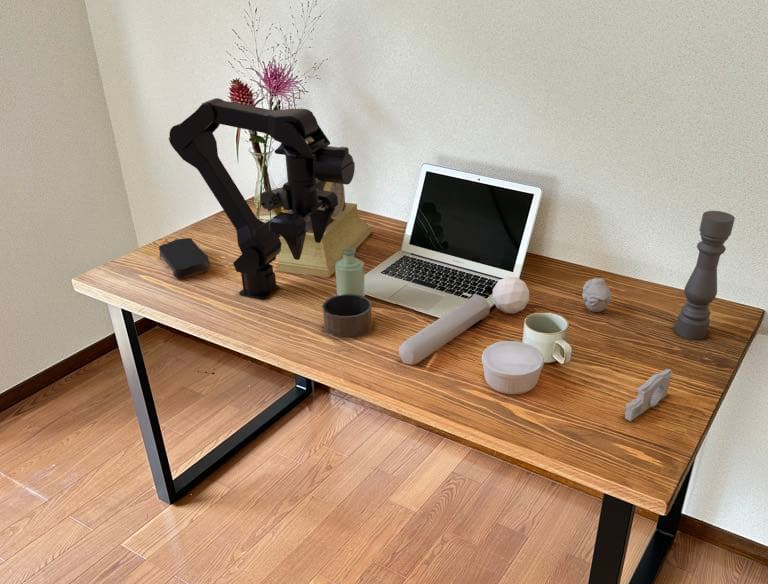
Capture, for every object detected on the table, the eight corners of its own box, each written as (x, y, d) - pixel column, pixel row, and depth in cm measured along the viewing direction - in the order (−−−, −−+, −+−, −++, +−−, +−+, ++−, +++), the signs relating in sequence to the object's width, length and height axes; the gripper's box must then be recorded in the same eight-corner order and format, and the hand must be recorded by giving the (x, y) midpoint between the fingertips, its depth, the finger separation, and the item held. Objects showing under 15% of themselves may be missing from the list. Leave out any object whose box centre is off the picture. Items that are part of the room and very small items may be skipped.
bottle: (332, 305, 156) (329, 254, 150) (344, 293, 161) (342, 243, 155) (358, 310, 155) (355, 259, 148) (369, 298, 160) (367, 247, 153)
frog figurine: (600, 301, 160) (605, 272, 156) (614, 316, 154) (619, 286, 151) (574, 303, 159) (578, 274, 155) (588, 319, 153) (592, 289, 149)
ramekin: (498, 404, 127) (500, 379, 124) (469, 371, 136) (471, 347, 133) (553, 390, 131) (556, 366, 128) (522, 359, 139) (524, 335, 137)
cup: (315, 333, 146) (314, 312, 144) (337, 311, 154) (336, 290, 151) (360, 343, 144) (359, 321, 141) (379, 320, 151) (379, 299, 149)
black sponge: (214, 274, 168) (211, 260, 166) (177, 282, 164) (174, 268, 162) (192, 249, 180) (190, 235, 178) (157, 257, 176) (154, 242, 174)
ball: (517, 320, 158) (543, 297, 154) (497, 321, 152) (523, 297, 147) (499, 293, 160) (524, 269, 156) (478, 292, 154) (503, 268, 150)
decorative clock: (328, 278, 167) (320, 148, 151) (277, 271, 170) (264, 142, 154) (370, 233, 190) (367, 115, 174) (325, 227, 193) (317, 111, 177)
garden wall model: (630, 423, 123) (636, 394, 120) (621, 418, 124) (627, 390, 121) (668, 395, 130) (675, 368, 127) (660, 391, 131) (666, 363, 128)
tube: (418, 355, 133) (493, 304, 149) (396, 338, 134) (473, 289, 151) (411, 375, 136) (485, 322, 153) (390, 358, 138) (466, 308, 155)
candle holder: (706, 327, 151) (736, 212, 138) (706, 341, 146) (736, 224, 133) (675, 322, 153) (701, 208, 139) (674, 336, 148) (701, 219, 134)
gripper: (289, 159, 153) (295, 229, 161) (240, 186, 138) (249, 262, 146) (337, 165, 150) (340, 236, 158) (292, 194, 135) (299, 271, 143)
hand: (307, 250), depth 151 cm, fingers open, 9 cm apart
